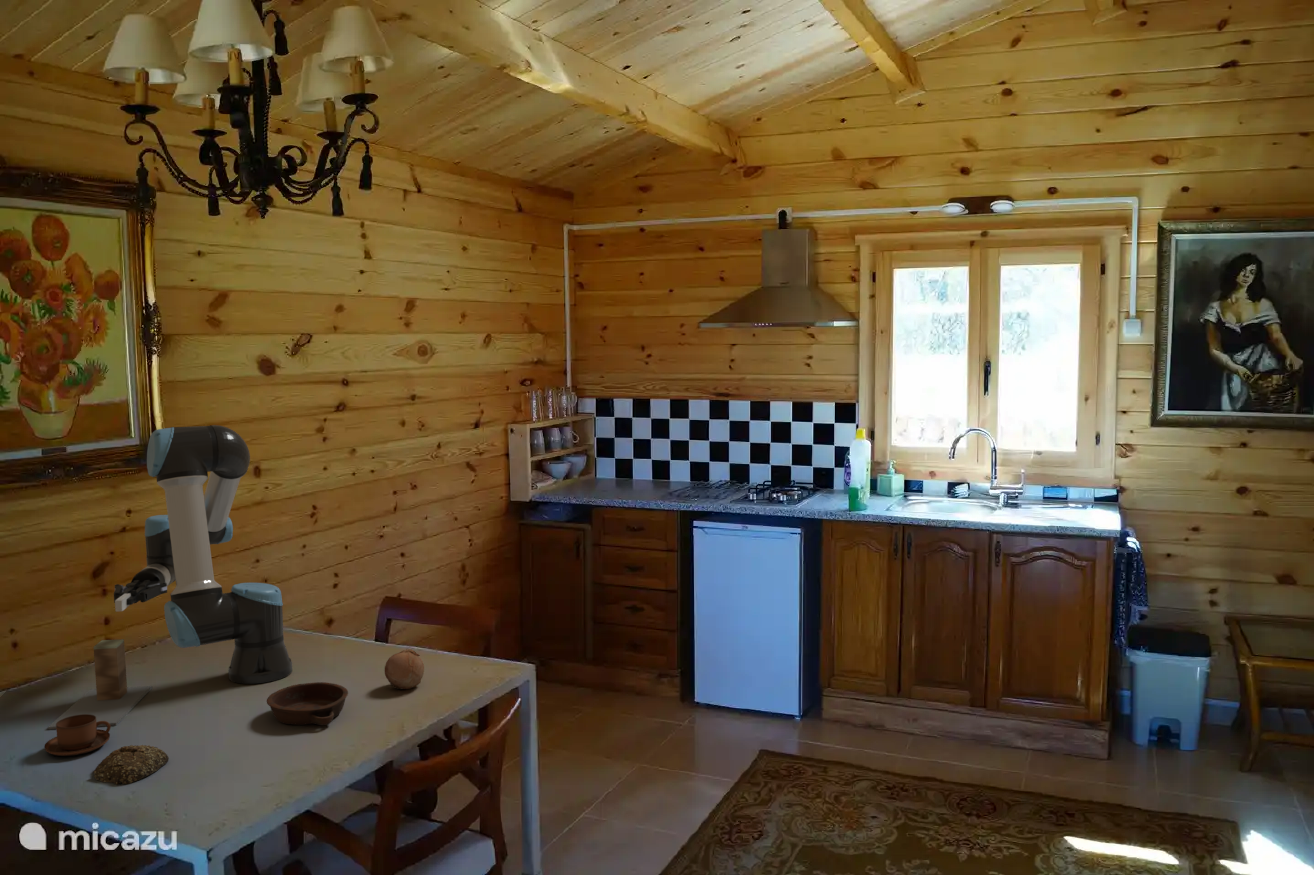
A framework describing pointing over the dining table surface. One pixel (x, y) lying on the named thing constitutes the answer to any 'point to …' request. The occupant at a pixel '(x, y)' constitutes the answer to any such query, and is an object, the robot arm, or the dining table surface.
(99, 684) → the walnut block
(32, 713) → the dining table surface
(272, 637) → the robot arm
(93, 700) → the rubber mat
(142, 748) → the bread roll
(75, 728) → the cup and saucer
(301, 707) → the dish
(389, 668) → the onion
